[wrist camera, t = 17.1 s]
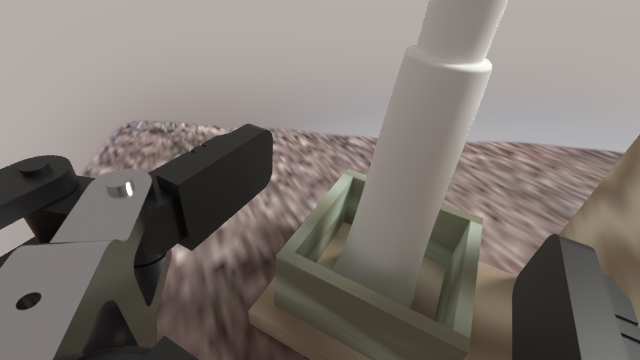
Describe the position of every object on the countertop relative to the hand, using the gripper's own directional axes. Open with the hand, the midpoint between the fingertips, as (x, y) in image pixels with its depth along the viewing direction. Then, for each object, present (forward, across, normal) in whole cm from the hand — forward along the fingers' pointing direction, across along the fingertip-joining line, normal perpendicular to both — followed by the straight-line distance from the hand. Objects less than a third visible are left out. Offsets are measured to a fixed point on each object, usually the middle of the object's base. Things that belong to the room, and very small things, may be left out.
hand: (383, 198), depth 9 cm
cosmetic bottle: (+8, 0, +14) cm, 16 cm away
